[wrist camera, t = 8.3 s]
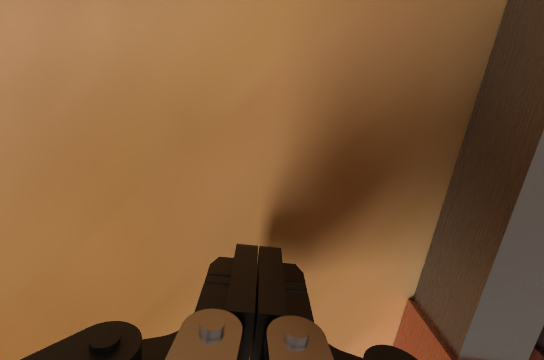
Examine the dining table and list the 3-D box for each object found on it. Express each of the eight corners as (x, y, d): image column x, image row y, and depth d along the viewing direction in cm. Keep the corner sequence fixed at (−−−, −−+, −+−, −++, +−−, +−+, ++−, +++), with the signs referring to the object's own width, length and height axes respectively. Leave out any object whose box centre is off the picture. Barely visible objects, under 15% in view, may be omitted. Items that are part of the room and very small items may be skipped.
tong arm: (503, -4, 10) (610, -51, 7) (579, 12, 10) (717, -26, 7) (376, 399, 14) (409, 485, 11) (434, 406, 14) (482, 493, 11)
